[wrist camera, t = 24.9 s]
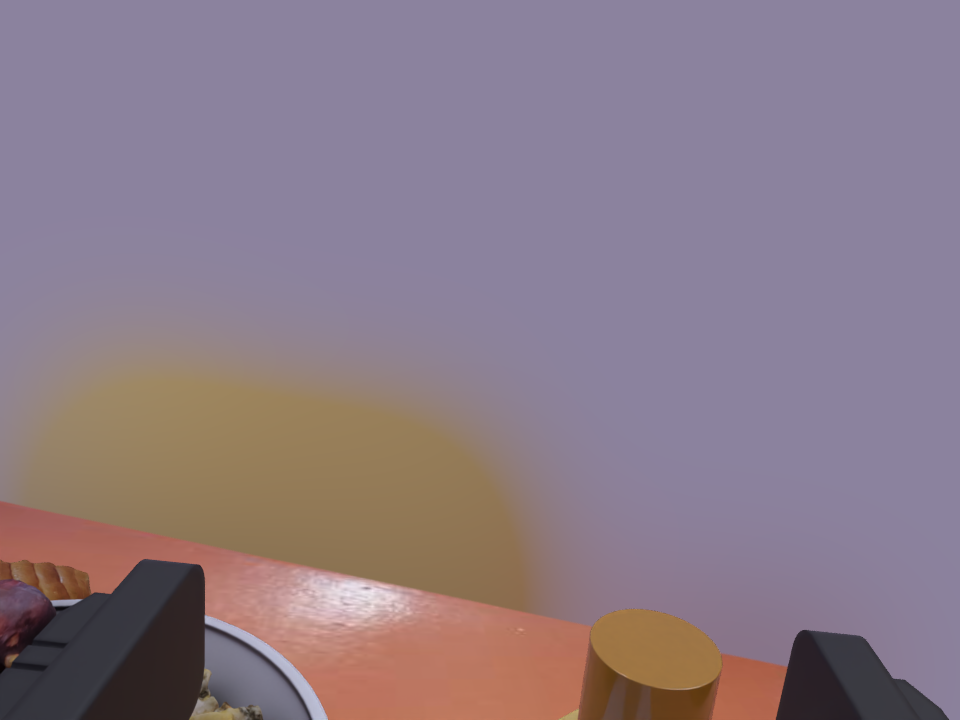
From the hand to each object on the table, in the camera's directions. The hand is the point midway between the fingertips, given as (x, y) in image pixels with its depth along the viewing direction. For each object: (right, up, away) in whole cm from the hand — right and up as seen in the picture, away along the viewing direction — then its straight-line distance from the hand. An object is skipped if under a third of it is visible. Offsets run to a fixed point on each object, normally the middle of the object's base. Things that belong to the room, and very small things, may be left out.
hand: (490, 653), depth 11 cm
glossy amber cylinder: (+7, -19, +29) cm, 35 cm away
